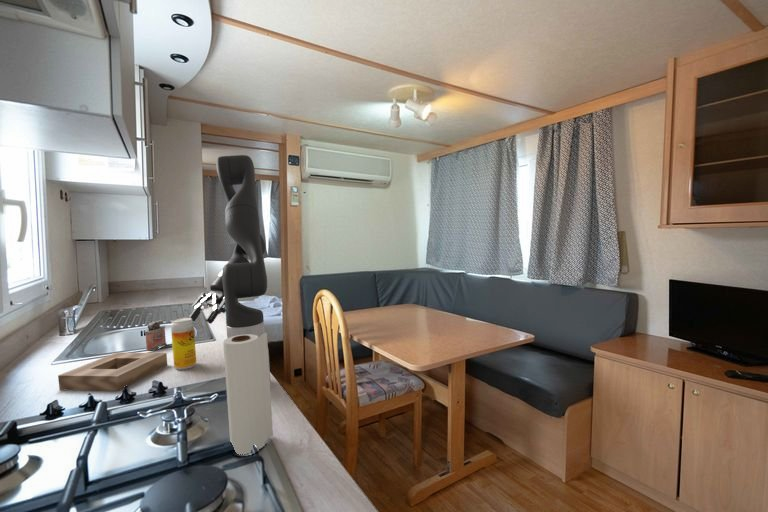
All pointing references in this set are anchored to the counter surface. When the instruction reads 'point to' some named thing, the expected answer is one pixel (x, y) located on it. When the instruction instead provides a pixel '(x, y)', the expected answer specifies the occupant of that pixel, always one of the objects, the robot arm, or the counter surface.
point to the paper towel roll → (248, 391)
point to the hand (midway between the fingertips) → (199, 321)
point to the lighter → (155, 336)
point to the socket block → (112, 371)
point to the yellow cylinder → (183, 343)
